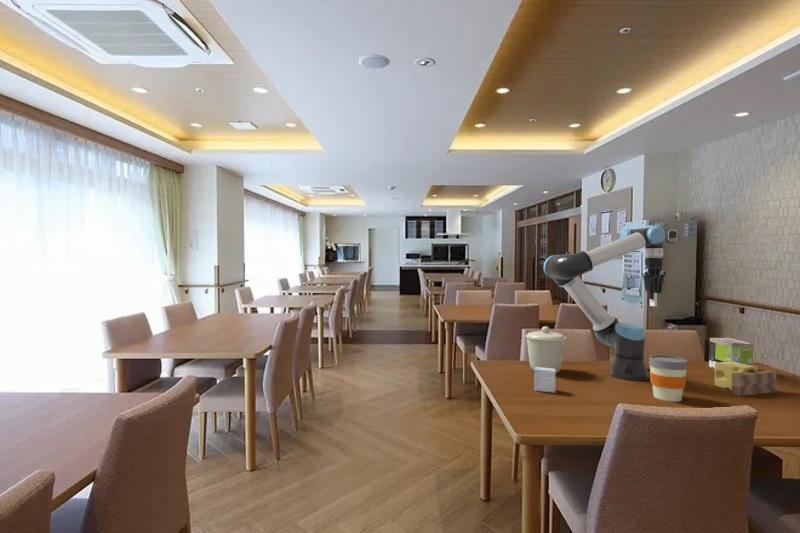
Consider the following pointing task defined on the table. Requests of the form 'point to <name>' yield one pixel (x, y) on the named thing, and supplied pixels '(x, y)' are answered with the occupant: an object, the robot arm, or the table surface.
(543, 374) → the medicine box
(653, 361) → the reusable coffee cup
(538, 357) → the canister
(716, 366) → the cheese
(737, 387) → the walnut board
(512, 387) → the table surface
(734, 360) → the tea box
